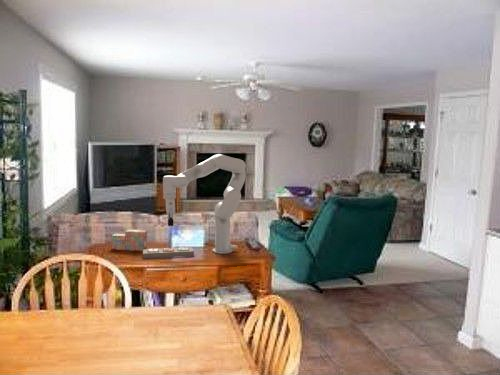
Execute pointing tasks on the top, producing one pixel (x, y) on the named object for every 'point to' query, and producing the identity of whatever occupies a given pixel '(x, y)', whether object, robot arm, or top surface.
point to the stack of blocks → (130, 240)
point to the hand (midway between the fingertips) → (170, 225)
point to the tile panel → (167, 253)
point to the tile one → (152, 250)
